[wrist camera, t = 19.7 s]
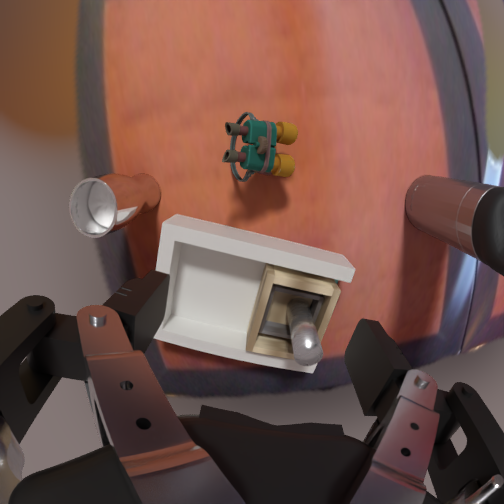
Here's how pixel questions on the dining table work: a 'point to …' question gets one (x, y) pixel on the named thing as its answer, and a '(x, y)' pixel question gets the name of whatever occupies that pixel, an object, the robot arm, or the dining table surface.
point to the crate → (275, 303)
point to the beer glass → (111, 202)
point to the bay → (227, 284)
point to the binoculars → (260, 147)
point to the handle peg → (303, 333)
